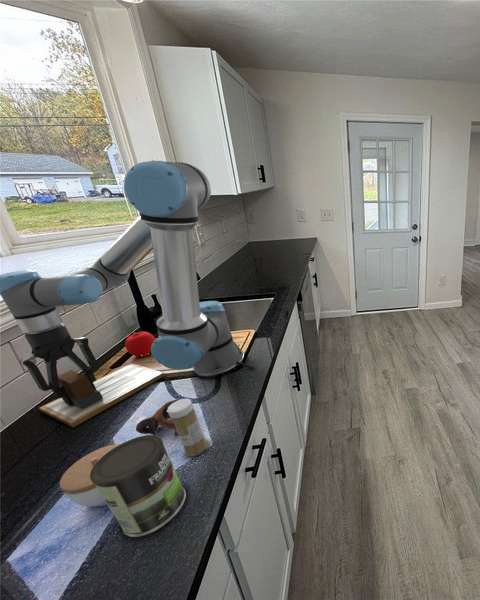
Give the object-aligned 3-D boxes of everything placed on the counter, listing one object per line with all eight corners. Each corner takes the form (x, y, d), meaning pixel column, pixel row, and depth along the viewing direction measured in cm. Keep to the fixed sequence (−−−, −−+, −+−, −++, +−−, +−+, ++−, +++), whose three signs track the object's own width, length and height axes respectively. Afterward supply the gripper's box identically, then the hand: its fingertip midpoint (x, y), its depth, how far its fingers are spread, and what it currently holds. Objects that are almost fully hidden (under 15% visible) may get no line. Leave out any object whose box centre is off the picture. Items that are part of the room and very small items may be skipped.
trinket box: (105, 522, 60) (83, 488, 56) (63, 512, 62) (39, 479, 58) (156, 472, 69) (140, 440, 66) (118, 466, 71) (100, 435, 68)
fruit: (128, 355, 119) (117, 331, 115) (156, 345, 125) (147, 322, 121) (133, 363, 113) (122, 339, 109) (163, 352, 119) (153, 329, 115)
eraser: (103, 398, 92) (91, 375, 89) (81, 409, 88) (69, 385, 85) (83, 389, 97) (72, 367, 94) (62, 399, 92) (49, 377, 89)
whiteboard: (164, 376, 104) (163, 372, 104) (73, 427, 84) (70, 423, 83) (132, 366, 111) (131, 362, 110) (41, 411, 91) (38, 407, 90)
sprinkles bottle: (181, 454, 73) (161, 409, 68) (199, 439, 77) (181, 396, 72) (195, 459, 72) (175, 413, 67) (212, 444, 76) (195, 400, 71)
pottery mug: (185, 410, 88) (189, 391, 85) (197, 437, 84) (202, 418, 81) (130, 427, 79) (133, 407, 75) (141, 459, 75) (144, 438, 71)
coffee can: (194, 480, 67) (172, 429, 62) (172, 529, 58) (144, 475, 52) (140, 491, 65) (113, 440, 60) (109, 544, 56) (73, 489, 50)
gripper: (79, 312, 92) (111, 377, 101) (-13, 342, 77) (34, 415, 86) (92, 315, 89) (124, 382, 98) (0, 347, 74) (47, 422, 83)
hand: (82, 397), depth 92 cm, fingers closed on eraser, 5 cm apart
